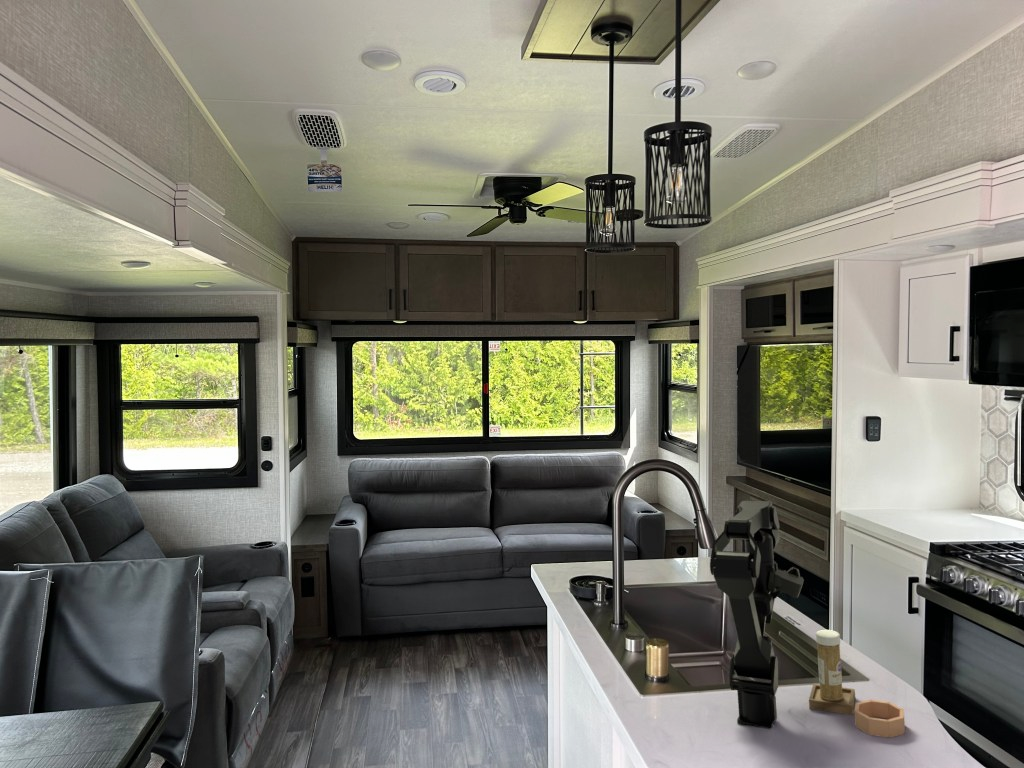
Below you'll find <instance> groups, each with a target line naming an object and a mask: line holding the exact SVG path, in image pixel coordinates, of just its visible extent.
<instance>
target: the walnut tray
mask: <svg viewBox="0 0 1024 768" xmlns="http://www.w3.org/2000/svg"><path fill="white" fill-rule="evenodd" d="M812 684H813V685H812V688H811V691H810V695H809V699H808V705H809V710H811V709H812V710H817V711H824V712H831V713H839V714H844V715H851V716H852V715H853V714H854V709H855V703H856V702H855V700H856V690H855V688H851V687H850V688H848V687H842V694H843V699H842V700H840V701H835V702H831V701H827V700H824V699H823V698H821V697H820V683H819V684H817V683H812Z"/></svg>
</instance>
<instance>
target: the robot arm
mask: <svg viewBox="0 0 1024 768" xmlns="http://www.w3.org/2000/svg"><path fill="white" fill-rule="evenodd" d="M736 509H737V510H735V515H734V516H732V517H731V518H729V519H725V521H724V527H723V531H722V532H721V533H720V535H718V537H717V538H716V539H715V540H714V541H713V543H712V546H711V547H712V549H711V553H710V560H709V570H710V575H711V576H713V578H714V582H715V585H716V587H717V588H718V589H719V590H721V592H722V593H724V594H725V595H727V598H728V602H729V606H730V612H731V614H732V619H733V620H732V621H733V624H734V628H735V632H736V633H735V634H736V637H737V641H736V644H735V651H733V653H732V657H731V658H730V659H729V661H730V662H729V674H728V679H729V687H730V690H731V691H737V703H738V704H737V705H738V717H737V719H736V723H737V724H740V725H741V724H742V725H747V726H754V727H760V728H764V729H765V728H767V729H771V728H772V727H773V723H774V722H775V721H776V718H777V716H778V713H777V711H778V710H777V696H776V693H777V691H778V688H779V660H778V656H775V652H774V647H773V645H772V644H773V643H772V639H771V637H769V636H765V629H766V625H767V624H768V625H770V624H771V623H772V618H773V612H774V605H775V601H776V600H775V599H777V597H778V596H780V595H781V593H784V594H786V595H789V597H791V598H795V599H798V598H799V596H800V593H801V590H802V588H803V584H804V581H805V579H804V577H803V576H801V574H800V570H799V568H797V567H794V566H792V567H790V568H789V569H788V570H786V569H784V570H781V569H779V568H778V563H777V562H776V561H775V560H774V558H775V555H774V549H775V548H776V547H777V545H778V543H779V542H780V539H781V537H780V536H781V534H780V531H779V529H780V521H779V517H778V513H777V508H776V506H773V502H772V501H767V500H765V501H761V500H759V501H758V500H756V501H755V500H742V501H741V502H740V503H739V505H738V506H737V508H736ZM731 540H741V541H743V540H744V550H745V551H735V550H734V551H733V550H725V548H726V547H727V546H728V545H729V544H730V542H731ZM739 677H743V678H739ZM747 678H751V679H747ZM753 679H758V680H753ZM759 679H760V680H759ZM761 680H762V681H761ZM763 680H765V681H763ZM769 681H770V682H769Z"/></svg>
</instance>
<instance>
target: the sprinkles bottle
mask: <svg viewBox="0 0 1024 768" xmlns="http://www.w3.org/2000/svg"><path fill="white" fill-rule="evenodd" d="M815 642H816V645H817V665H818V667H817V669H818V681H819V685H820V697H821V698H823V699H824V700H827V701H831V702H835V701H840V700H842V699H843V694H842V688H843V678H842V677H843V676H842V661H841V649H840V648H841V647H840V644H841V635H840V633H839V632H838V631H835V630H831V629H821V630H818V631H816V633H815Z"/></svg>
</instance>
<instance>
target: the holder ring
mask: <svg viewBox="0 0 1024 768" xmlns="http://www.w3.org/2000/svg"><path fill="white" fill-rule="evenodd" d="M905 723H906V722H905V710H904V709H903V708H901V707H900V706H898V705H896V704H894V703H892V702H890V701H883V700H875V699H867V700H862V701H858V702H855V703H854V724H855V727H856V728H858V729H860V730H861V731H863V733H865V734H868V735H869V736H870V735H871V736H877V737H884V738H893V737H894V738H895V737H897V736H901V735H905V734H906V724H905Z"/></svg>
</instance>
